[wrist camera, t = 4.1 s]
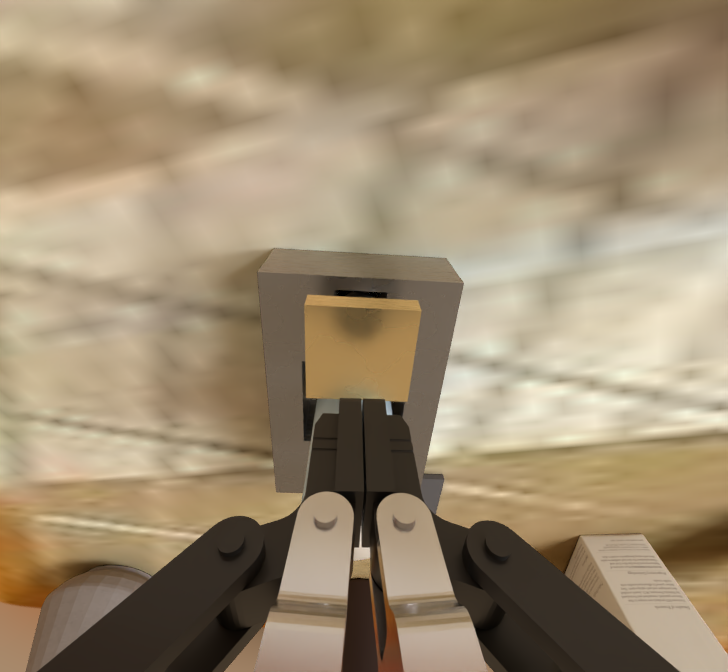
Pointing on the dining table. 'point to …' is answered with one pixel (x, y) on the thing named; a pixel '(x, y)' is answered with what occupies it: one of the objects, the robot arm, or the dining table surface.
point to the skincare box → (645, 599)
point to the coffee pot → (80, 608)
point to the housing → (287, 341)
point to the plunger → (360, 346)
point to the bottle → (359, 630)
